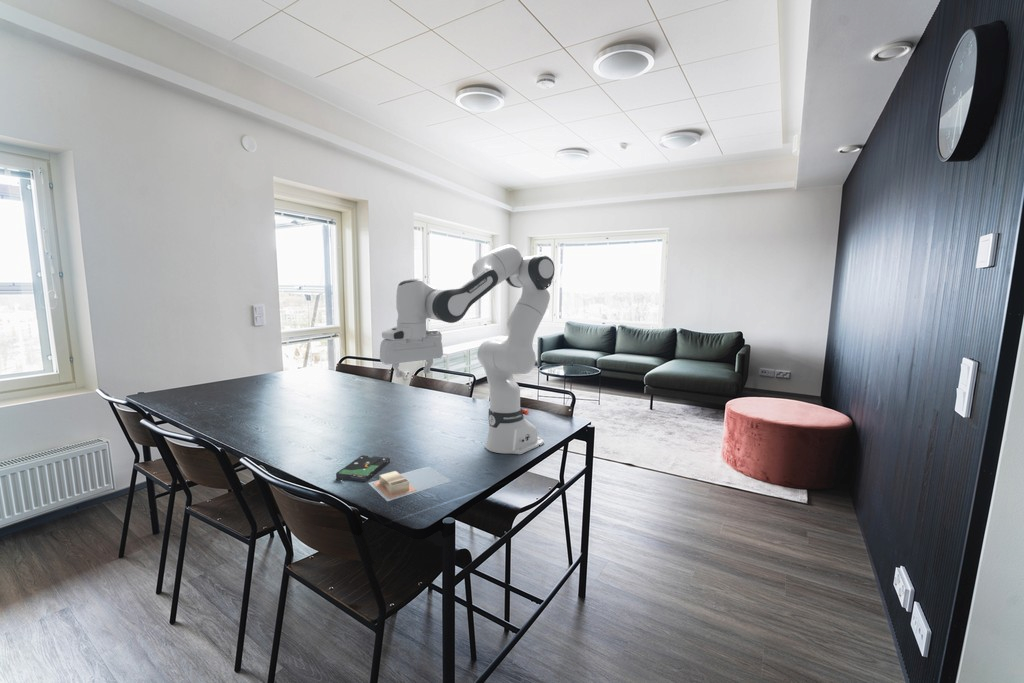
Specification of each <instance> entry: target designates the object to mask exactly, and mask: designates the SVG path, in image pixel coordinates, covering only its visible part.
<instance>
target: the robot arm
mask: <svg viewBox="0 0 1024 683" xmlns="http://www.w3.org/2000/svg"><path fill="white" fill-rule="evenodd" d="M471 273H472V277H473V278H471V279H470V280H469V281H467V282H466V283H465V284H463V285H462V286H461V287H459V288H451V289H438V288H435V287H432V285H429V284H428V283H426V282H425V281H424V280H422V279H421V278H413V279H406V280H403V281H400V282H399V283H398V285H397V288H396V296H395V297H396V301H395V303H396V304H395V305H396V307H395V308H396V311H397V319H396V326H394V327H391V328H389V329H386V330H384V331H382V333H381V337H382V338H383V340H381V342H380V345H379V360H380V362H381V363H382V364H383V365H385V366H387V365H391V367H392V369H393V370H394V371H395V377H396V378H397V379H399V378H403V376H404V375H403V374H404V373H403V371H401V370H400V369H399V368H398V367H400V364H403V363H410V362H419V361H425V362H426V364H425V367H422V368H423V372H422V373H423V374H430V373H431V367H432V365H433V363H434V360H435V359H437V360H438V359H441V358H442V357H443V355H444V351H443V342H442V338H443V337H442V333H441V332H440V331H439V330H438V329H432V330H431V329H430V330H427V319H430V320H435V321H442V322H444V323H448V324H449V323H450V324H454V323H457V322H459V321H461V320H462V319H463V318H464V316H465V315H466V313H467V312H468V311H469V309H470V308H471V307H472V305H473V304H475V303H477V302H478V301H479V300H480V299H481V298H482V297H484V295H487V293H489V292H490V291H491V290H492V289H493V288H495V287H497V285H499V284H501V283H502V282H504V281H506V283H507V284H508V285H509V286H511V287H513V288H517V289H520V288H521V289H522V290H521V296H520V298H519V299H518V301H517V302H516V304H515V306H514V308H513V310H512V312H511V314H510V316H509V317H508V319H507V321H506V322H507V323H506V325H507V329H508V330H509V332H508V337H507V339H506V340H498V339H492V340H491V339H490V340H486V341H483V342H482V343H481V344H480V345H479V347H478V349H477V351H476V352H477V353H476V354H477V355H476V356H477V360H478V362H479V363H480V364H481V365H482V367H483V370H484V372H485V376H486V379H487V382H488V388H489V408H488V417H487V418H488V431H487V438H486V441H485V445H484V448H485V449H486V450H487V451H489V452H493V453H498V454H512V455H522V454H524V453H526V452H529V451H531V450H533V449H535V448H538V447H540V446H542V445H544V444H545V441H544V439H542V438H541V437H539V435H538V430H537V427H536V426H535V425H534V424H533V423H531V422H530V421H528V420H527V419H526V418H525V417H524V415H525V416H529V414H530V411H529V409H526V408H523V409H522V408H521V388H520V386H519V384H518V382H517V381H516V380H515V377H514V375H526V374H529V373H531V372H532V371H533V369H534V368H535V365H536V360H537V355H536V354H535V351H534V349H533V344H534V343H533V342H534V337H535V334H536V333H537V330H538V328H539V326H540V325H541V322H542V320H543V318H544V317H545V313H546V312H547V309H548V306H549V303H550V300H551V294H550V292H549V290H548V288H549V287H550V286H551V285H552V281H553V279H554V277H555V276H554V275H555V264H554V261H553V260H552V259H551V258H550V257H549V256H547V255H544V254H536V255H530V256H529V255H528V256H524V257H523V256H522V254H521V252H520V251H519V249H518V248H517V247H516V246H514V245H512V244H506V245H502V246H500V247H499V246H498V247H496V248H494V249H493V250H490V251H488V252H487V253H486V254H484V255H482V256H480V258H478V259H477V260H476V261H475V262H474V263H473V265H472V269H471ZM543 443H544V444H543ZM539 445H540V446H539Z"/></svg>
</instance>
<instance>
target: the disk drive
mask: <svg viewBox="0 0 1024 683" xmlns="http://www.w3.org/2000/svg"><path fill="white" fill-rule="evenodd" d="M390 463H391V460H390V457H383V456H371V457H370V456H369V455H363V454H362V455H360V456H358V457H357V458H356V459H354V460H353V461H352V462H350V463H349V464H347V465H346V466H344V467H343V468H342V469H340V470H339V471H337V472H336V473H335V476H336V478H335V479H336V481H340V480H342V481H341V482H344V480H349V481H350V480H351V481H359V482H369V480H370V479H372V477H374V476H376V475H377V473H379V472H381V471H382V469H384V468H385V467H386V466H387V465H389V464H390Z"/></svg>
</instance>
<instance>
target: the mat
mask: <svg viewBox="0 0 1024 683" xmlns="http://www.w3.org/2000/svg"><path fill="white" fill-rule="evenodd" d="M399 474H400V475H402V476H403V477H404V478H406V479H407V480H408V481H409V490H407V491H403V492H400V493H397V494H393V495H392V494H391V493H390V492H389V491H388V490H387V489H385V488H384V487H383V486H382V485H381V484H380V479H378V480H374V481H370V482H369V481H368V482H367V484H368V485H369V486H370V487H371V488H372V489H373V490H375V491H376V492H377V493H378V494H379V495H380V496H381V497H382V498H383V499H384V500H385V501H386V502H390V501H393V500H397V499H401V498H402V497H405V496H410V495H412V494H416V493H419V492H422V491H425V490H428V489H432V488H435V487H438V486H442V485H444V484H448V483H451V482H452V480H451V479H449V478H448V477H447V476H444V475H443V474H442V473H440V472H438V470H436V469H434V468H433V467H431V466H430V465H428V466H425V467H421V468H416V469H413V470H410V471H409V470H408V471H406V472H402V473H399Z"/></svg>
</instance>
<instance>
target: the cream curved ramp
mask: <svg viewBox="0 0 1024 683" xmlns="http://www.w3.org/2000/svg"><path fill="white" fill-rule="evenodd" d="M400 474H401V473H399V472H398V471H396V470H393V471H390V472H386V473H382V474H379V476H378V478H379V479H378V480H380V484H381V485H382V486H383V487H384V488H385V489H387V490H388V491H389V492H390V493H391V494H392V495H393V494H397V493H400V492H403V491H407V490H409V481H408V480H407V479H406V478H404V477H403V476H402V475H400Z"/></svg>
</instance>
